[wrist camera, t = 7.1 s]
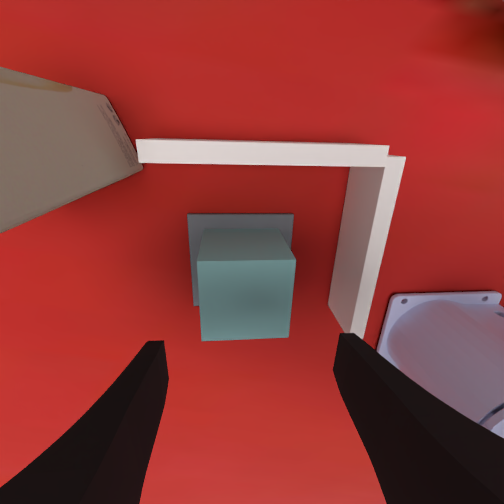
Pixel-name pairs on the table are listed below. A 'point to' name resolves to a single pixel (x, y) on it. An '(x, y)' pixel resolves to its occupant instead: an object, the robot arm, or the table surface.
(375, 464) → the robot arm
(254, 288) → the teal block
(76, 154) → the skincare box
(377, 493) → the table surface
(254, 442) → the table surface
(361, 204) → the light grey piece
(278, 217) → the mat
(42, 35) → the table surface
